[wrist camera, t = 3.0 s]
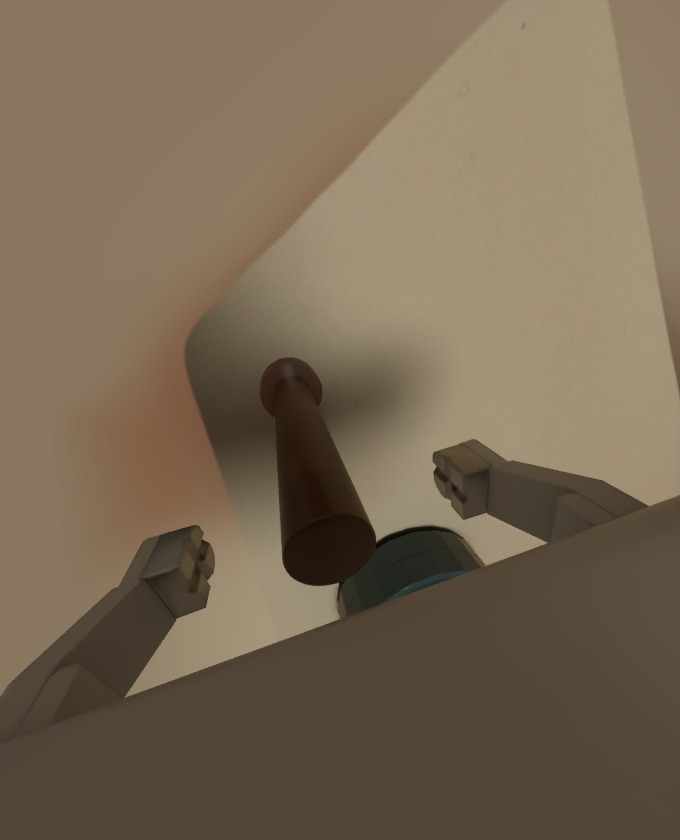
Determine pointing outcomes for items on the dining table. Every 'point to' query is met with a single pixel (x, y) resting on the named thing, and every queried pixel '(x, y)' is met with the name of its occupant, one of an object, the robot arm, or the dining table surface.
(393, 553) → the bowl
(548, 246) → the dining table surface
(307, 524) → the stirrer
